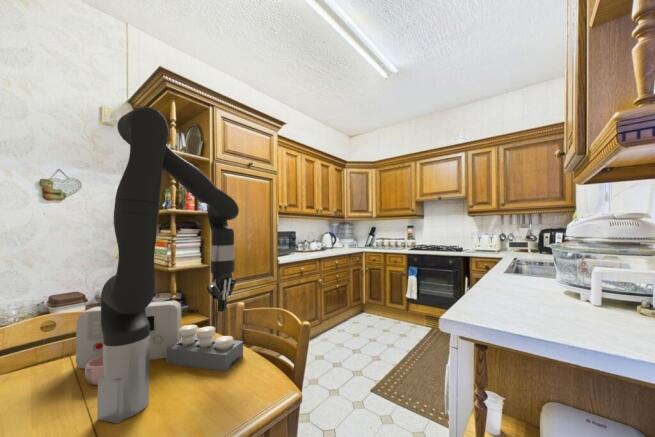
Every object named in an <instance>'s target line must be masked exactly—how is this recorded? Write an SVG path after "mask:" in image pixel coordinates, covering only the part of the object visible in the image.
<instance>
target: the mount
mask: <svg viewBox="0 0 655 437" xmlns="http://www.w3.org/2000/svg"><path fill="white" fill-rule="evenodd" d="M217 338H218V337H217ZM217 338H215V337H212V346H210V347H209V348H199V339H198V338H197V335H195V343H194V344H192V345H191V346H182V339H181V340H180V341H178V342H176V343H175V344H173V345H171V346H169V347H167V354H166V359H165V360H166V362H165V363H166V364H169V365H176V366H182V367H190V368H197V369H206V370H211V371H219V372H220V371H221V372H227V371H228V370H229V369H230V368H231V367H232V366H234V364H236V363H237V362H238V361H239V360H240V359H241V358H243V357H244V341H243V340H236V339H233V346H231V348H229V349H228V350H227V351H224V350H218V349H216V348H215V340H216V339H217Z"/></svg>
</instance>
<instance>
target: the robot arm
mask: <svg viewBox="0 0 655 437" xmlns="http://www.w3.org/2000/svg"><path fill="white" fill-rule="evenodd" d="M169 132H170V130H169V124H168V122H167V120H166V118H165V116H164V115H163V114H162V113H161V112H160V111H159V110H157V109H156V108H154V107H150V106H142V107H141V106H140V107H137V108H134V109H132V110H131V111H129V112H127V113H126V114H124V115H122V116H121V117H120V118H119V120H118V121H117V133H118V134H119V136H120V137H121V139H122V140H124V141H125V142H126V143H127V145H129V157H128V162H127V163H126V167H125V169H124V172H123V174H122V176H121V178H120V181H119V184H118V186H117V190H116V193H115V198H114V210H113V228H114V235H115V237H116V238H115V239H116V243H117V249H118V262H117V268H116V274H115V275H112V276H111V277H110V278H109V279H108V280H107V281H106V282H105V283H104V285H103V287H102V290H101V295H100V307H101V328H102V332H103V376H101V377H100V378H99V379H98V385H97V406H96V407H97V414H96V416H97V417H96V418H97V420H99V421H103V422H109V423H113V424H119V423H121V422H122V421H124V420H127V419H129V418H131V417H134V416H135V415H137V414H139V413H140V412H142V411H143V410H144V409H145V408H146V407H148V405H149V402H150V361H151V360H150V323H149V321H148V319H147V316H146V311H145V308H146V307H147V306H148V305H149V304H150V303H151V302H152V301H153V299H154V296H155V292H156V275H155V253H156V252H155V251H156V243H157V234H158V224H159V216H160V205H161V189H162V188H161V187H162V178H163V177H162V173H163V171H164V172H166V173H167V174H168V175H170V176H171V177H172V178H173V179H175V181H176V182H178V184H180V185H181V186H182V187H183V188H184V189H185V190H186V191H187V192H188V193H189V194H191V195H192V196H193V197H194V198H195V199H196V200H197V201H198V202H199V203H202V204H207V205H208V207H207V218H208V223H209V228H210V231H211V248H210V269H209V270H210V274H212V275H213V277H212V280H211V281H212V282H211V285H207V287H206V290H207V292H208V293H209V295H210V296H211V298H212V299H213V300H217V311H218V312H225V311H226V310H227V307H228V305H227V304H228V303H227V302H228V301H227V300H228V298H229V296H231V295H232V293H233V290H234V287H235V286H236V283H237V279H234V278H233V273H234V272H235V267H236V266H235V265H236V264H235V261H236V259H235V256H236V254H235V253H236V252H235V232H234V231H235V230H234V229H233V228H231V227H229V224H228V221H233V220H234V219H236V218H237V216H238V215H239V213H240V212H239V211H240V210H239V209H240V208H239V205H238V203H237V202H236V201H235V199H233V197H231V196H230V195H229V194H227V193H226V192H224V191H223V190H222V189H220V188H218V187H217V186H216V185H215V184H214V182H213V181H211V180H210V179H209V178H208V177H207V175H205V173H203V171H201V169H199V168H198V167H196V166H195V165H193V164H192V163H190V162H188V161H187V160H185V159H184V158H183V157H181V156H180V155H178V154H177V153H176V152H174V150H172V149H171V148H170V147H169V146H168V144H167V143H168V139H169Z"/></svg>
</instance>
